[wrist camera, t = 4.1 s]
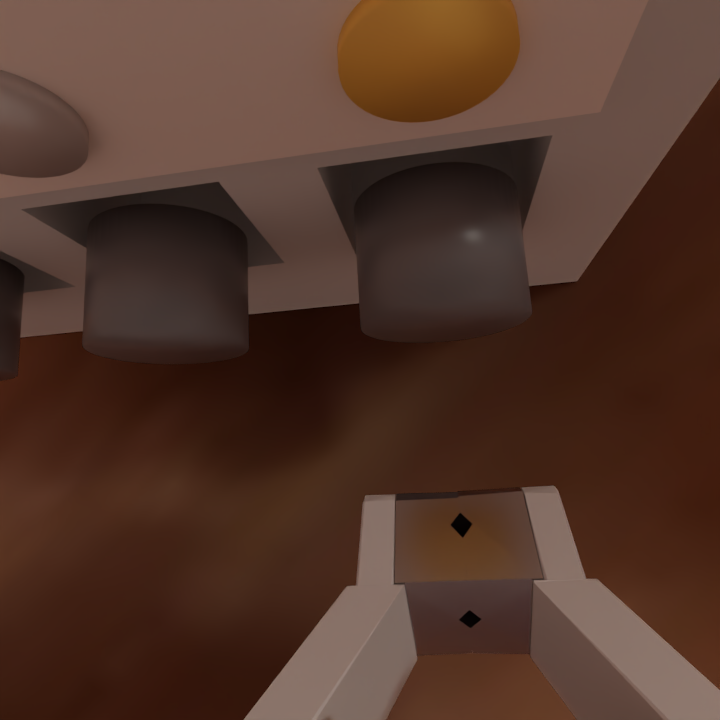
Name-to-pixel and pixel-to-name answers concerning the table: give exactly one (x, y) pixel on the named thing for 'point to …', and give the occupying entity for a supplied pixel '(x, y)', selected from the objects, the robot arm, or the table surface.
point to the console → (330, 123)
